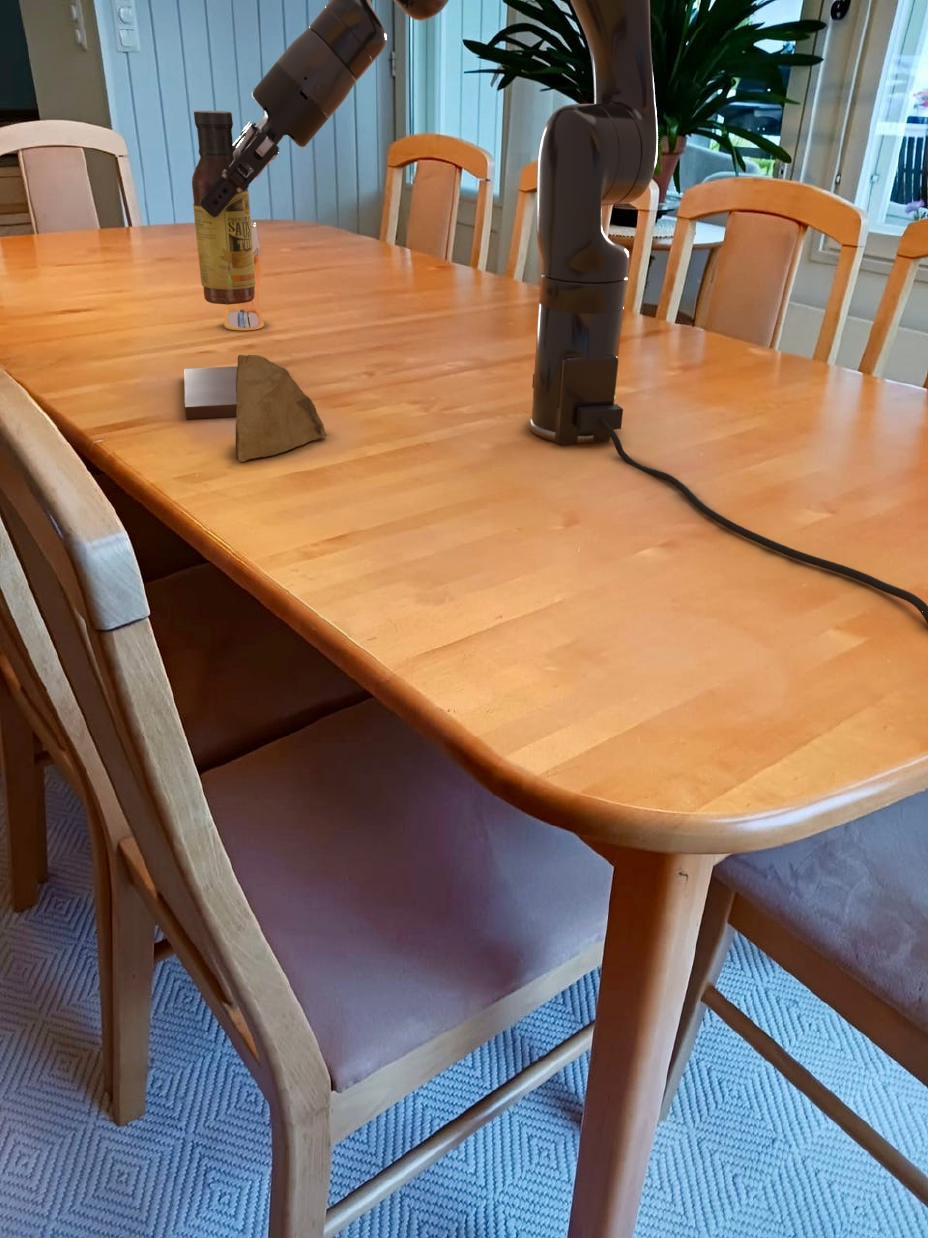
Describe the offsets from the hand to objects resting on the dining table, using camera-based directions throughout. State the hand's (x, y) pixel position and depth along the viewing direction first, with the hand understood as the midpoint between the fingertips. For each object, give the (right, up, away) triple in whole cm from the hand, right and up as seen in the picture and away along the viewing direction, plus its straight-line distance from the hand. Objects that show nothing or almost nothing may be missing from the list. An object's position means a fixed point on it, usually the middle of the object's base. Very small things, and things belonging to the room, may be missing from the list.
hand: (206, 206), depth 106 cm
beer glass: (-5, -1, +42) cm, 42 cm away
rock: (+9, -28, -4) cm, 30 cm away
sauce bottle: (+1, -9, +6) cm, 11 cm away
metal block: (+1, -19, +11) cm, 22 cm away
